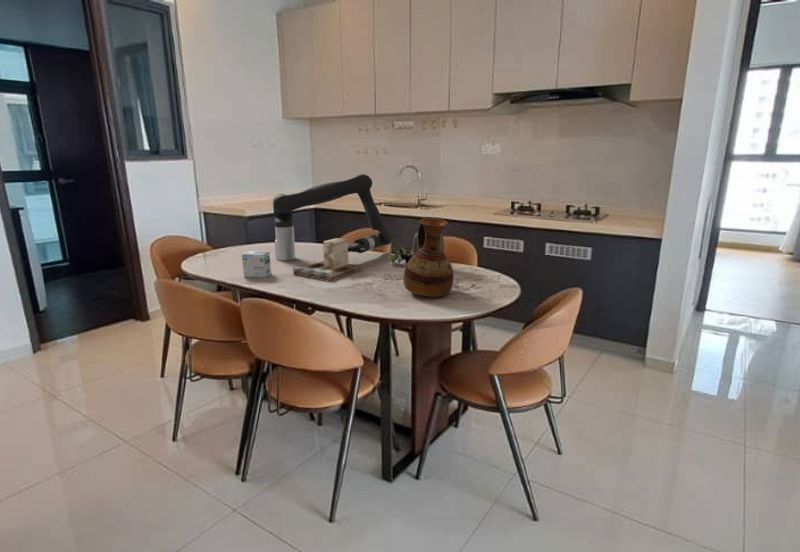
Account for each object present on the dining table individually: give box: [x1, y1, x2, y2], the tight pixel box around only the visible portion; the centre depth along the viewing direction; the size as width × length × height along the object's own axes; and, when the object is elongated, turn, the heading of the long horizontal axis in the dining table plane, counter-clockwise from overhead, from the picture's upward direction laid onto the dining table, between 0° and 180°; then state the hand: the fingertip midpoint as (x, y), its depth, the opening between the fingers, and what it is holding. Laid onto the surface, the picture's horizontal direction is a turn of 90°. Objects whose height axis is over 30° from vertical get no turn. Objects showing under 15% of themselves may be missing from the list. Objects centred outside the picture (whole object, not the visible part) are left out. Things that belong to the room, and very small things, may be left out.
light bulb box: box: [241, 250, 272, 278], centre depth 211 cm, size 11×7×11 cm, turn 84°
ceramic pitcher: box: [403, 217, 454, 297], centre depth 182 cm, size 20×20×30 cm
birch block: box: [322, 237, 349, 268], centre depth 220 cm, size 6×10×12 cm, turn 148°
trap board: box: [292, 260, 363, 282], centre depth 217 cm, size 22×23×4 cm
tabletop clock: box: [411, 216, 445, 255], centre depth 217 cm, size 14×9×25 cm, turn 83°
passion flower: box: [386, 245, 413, 267], centre depth 229 cm, size 11×11×12 cm
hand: (343, 250), depth 225 cm, fingers closed
